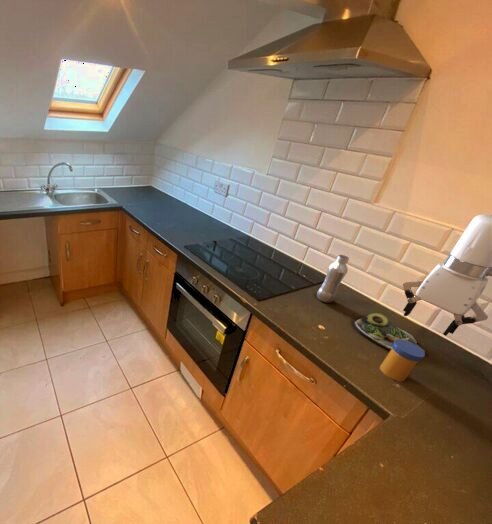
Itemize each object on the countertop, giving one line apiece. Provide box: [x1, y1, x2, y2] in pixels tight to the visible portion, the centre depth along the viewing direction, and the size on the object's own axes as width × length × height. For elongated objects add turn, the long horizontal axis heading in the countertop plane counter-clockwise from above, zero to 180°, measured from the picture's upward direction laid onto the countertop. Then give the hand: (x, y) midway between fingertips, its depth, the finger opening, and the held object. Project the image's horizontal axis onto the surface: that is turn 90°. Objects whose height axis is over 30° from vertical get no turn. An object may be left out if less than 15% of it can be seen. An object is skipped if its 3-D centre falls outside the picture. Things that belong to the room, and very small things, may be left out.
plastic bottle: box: [316, 254, 350, 304], centre depth 118 cm, size 6×7×20 cm
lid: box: [392, 339, 426, 362], centre depth 84 cm, size 7×7×2 cm
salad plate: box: [353, 312, 426, 353], centre depth 103 cm, size 19×18×5 cm
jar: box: [379, 348, 419, 382], centre depth 86 cm, size 6×6×10 cm
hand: (425, 323), depth 80 cm, fingers open, 8 cm apart
